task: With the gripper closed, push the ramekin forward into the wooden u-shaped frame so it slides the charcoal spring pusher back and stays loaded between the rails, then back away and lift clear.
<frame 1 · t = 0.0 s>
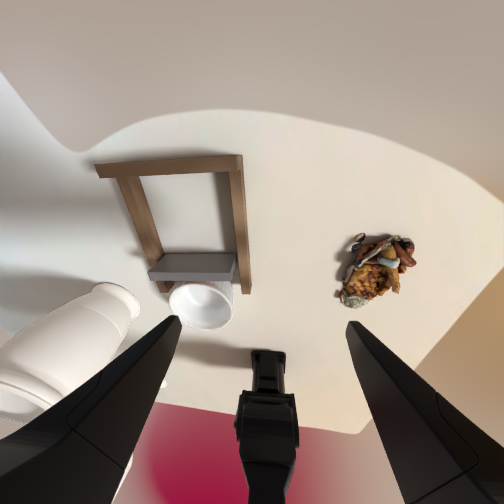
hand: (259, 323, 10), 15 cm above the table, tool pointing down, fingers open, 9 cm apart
grilled meat platter: (367, 271, 25), on the table
pusher: (195, 267, 23), point 3 cm above the table, slide at 0.0 cm
jar: (118, 300, 32), on the table
wooden u-shaped frame: (197, 236, 24), on the table
ramekin: (209, 288, 29), on the table
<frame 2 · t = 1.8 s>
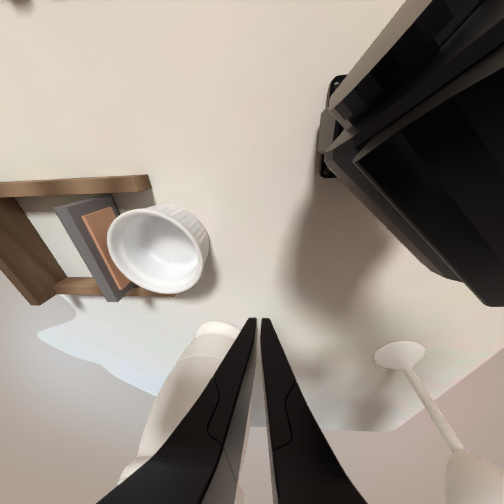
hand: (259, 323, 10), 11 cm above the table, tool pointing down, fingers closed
champagne flute: (397, 354, 26), on the table
pusher: (110, 249, 19), point 3 cm above the table, slide at 0.0 cm
jar: (222, 337, 28), on the table
wooden u-shaped frame: (102, 239, 21), on the table
ramekin: (177, 237, 21), on the table
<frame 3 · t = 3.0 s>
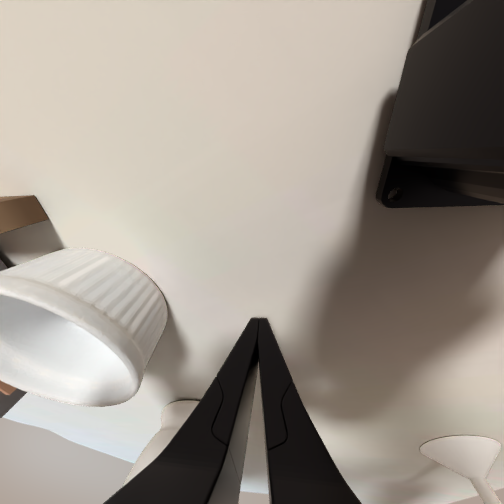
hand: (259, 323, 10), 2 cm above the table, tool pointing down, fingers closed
champagne flute: (456, 446, 18), on the table
jar: (202, 414, 20), on the table
ramekin: (114, 295, 12), on the table
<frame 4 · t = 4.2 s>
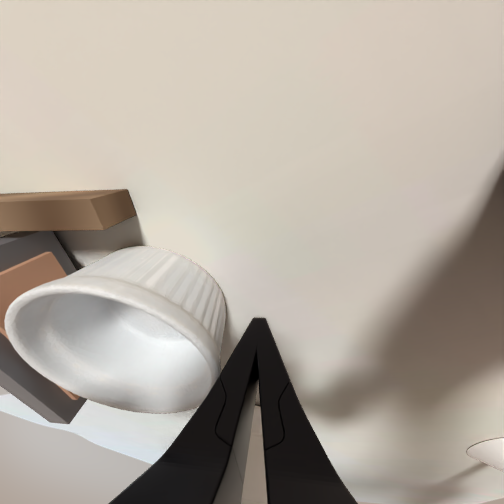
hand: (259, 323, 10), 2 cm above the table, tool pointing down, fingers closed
pusher: (52, 329, 10), point 3 cm above the table, slide at 0.3 cm
jar: (245, 416, 20), on the table
wooden u-shaped frame: (54, 296, 12), on the table
ramekin: (167, 296, 12), on the table, touching gripper
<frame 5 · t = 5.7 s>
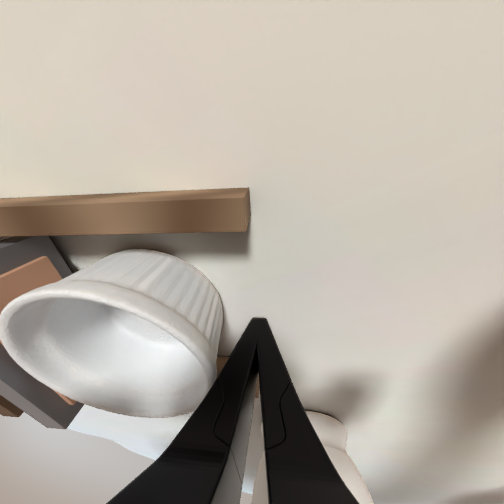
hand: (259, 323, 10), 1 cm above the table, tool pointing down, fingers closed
pusher: (48, 334, 10), point 3 cm above the table, slide at 6.2 cm
jar: (301, 424, 19), on the table
wooden u-shaped frame: (132, 301, 12), on the table
ramekin: (164, 298, 12), on the table, touching gripper
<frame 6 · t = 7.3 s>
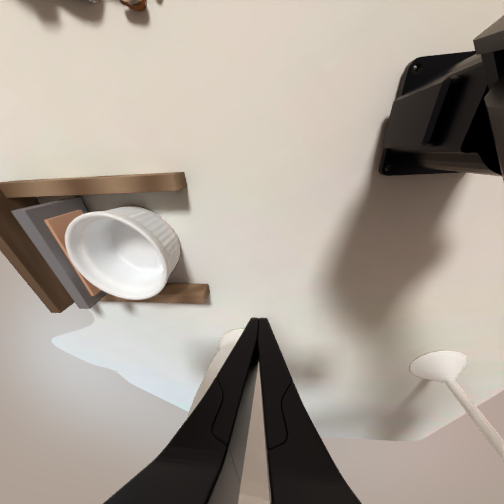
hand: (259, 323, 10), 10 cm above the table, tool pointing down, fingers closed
champagne flute: (436, 364, 25), on the table
pusher: (81, 254, 18), point 3 cm above the table, slide at 6.3 cm
jar: (248, 345, 27), on the table
wooden u-shaped frame: (128, 242, 20), on the table
ramekin: (147, 240, 20), on the table
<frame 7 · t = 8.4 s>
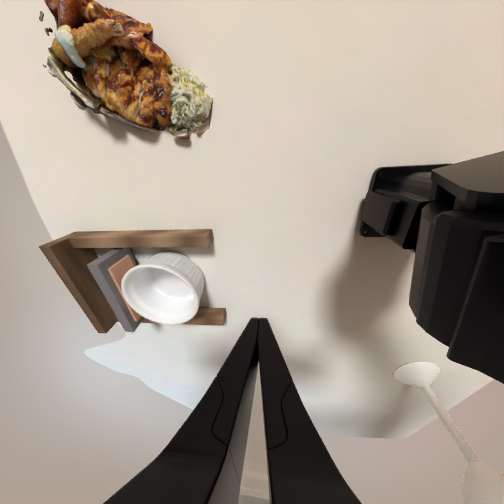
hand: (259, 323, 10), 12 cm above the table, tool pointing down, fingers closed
grilled meat platter: (144, 81, 15), on the table
champagne flute: (415, 372, 30), on the table
pusher: (127, 289, 22), point 3 cm above the table, slide at 6.3 cm
jar: (256, 356, 31), on the table
wooden u-shaped frame: (162, 276, 24), on the table
ramekin: (177, 275, 24), on the table
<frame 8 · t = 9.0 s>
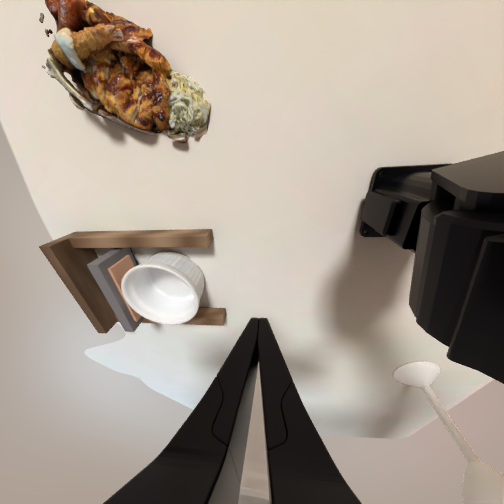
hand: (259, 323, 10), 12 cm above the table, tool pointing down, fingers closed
grilled meat platter: (143, 84, 15), on the table
champagne flute: (415, 372, 30), on the table
pusher: (127, 289, 22), point 3 cm above the table, slide at 6.3 cm
jar: (256, 356, 31), on the table
wooden u-shaped frame: (162, 276, 24), on the table
ramekin: (177, 275, 24), on the table
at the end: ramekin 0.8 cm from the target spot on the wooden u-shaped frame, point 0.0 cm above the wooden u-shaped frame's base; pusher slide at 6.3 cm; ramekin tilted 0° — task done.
